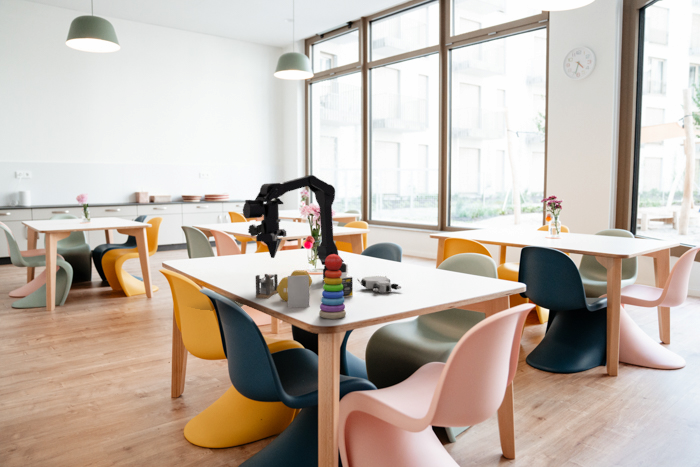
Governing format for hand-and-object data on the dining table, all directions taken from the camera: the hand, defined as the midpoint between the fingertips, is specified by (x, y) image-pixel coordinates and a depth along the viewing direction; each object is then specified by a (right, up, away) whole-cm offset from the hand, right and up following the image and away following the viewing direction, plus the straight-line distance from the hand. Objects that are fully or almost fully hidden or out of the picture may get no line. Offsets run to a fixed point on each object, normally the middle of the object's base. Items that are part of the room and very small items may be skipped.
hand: (272, 257), depth 196 cm
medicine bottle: (+26, -13, -12) cm, 31 cm away
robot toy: (+40, -12, -3) cm, 42 cm away
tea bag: (+13, -15, -27) cm, 34 cm away
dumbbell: (+10, -13, -12) cm, 20 cm away
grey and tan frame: (-1, -13, -10) cm, 17 cm away
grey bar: (-1, -8, -11) cm, 13 cm away
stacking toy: (+24, -16, -42) cm, 51 cm away
